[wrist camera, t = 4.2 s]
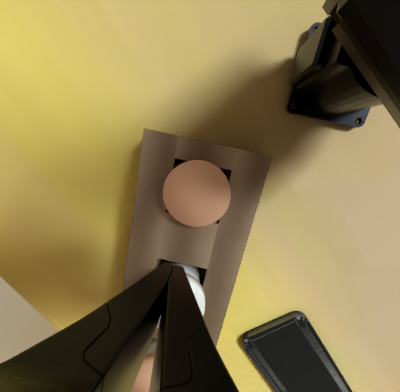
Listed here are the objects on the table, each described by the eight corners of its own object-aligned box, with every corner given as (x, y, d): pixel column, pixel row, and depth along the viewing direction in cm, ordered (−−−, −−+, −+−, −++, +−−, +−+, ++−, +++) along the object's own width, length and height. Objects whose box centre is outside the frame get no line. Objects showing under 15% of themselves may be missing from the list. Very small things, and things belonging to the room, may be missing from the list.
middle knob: (211, 259, 19) (211, 285, 15) (200, 303, 20) (197, 338, 16) (158, 247, 19) (145, 271, 15) (150, 292, 20) (136, 324, 16)
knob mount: (262, 154, 18) (272, 156, 15) (202, 366, 24) (201, 396, 21) (155, 131, 18) (144, 128, 15) (123, 348, 24) (111, 375, 21)
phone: (303, 313, 21) (360, 405, 23) (299, 305, 22) (354, 394, 24) (238, 341, 22) (298, 425, 25) (237, 332, 23) (295, 414, 26)
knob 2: (233, 164, 18) (238, 168, 14) (219, 216, 19) (221, 233, 16) (177, 152, 18) (168, 153, 14) (168, 205, 19) (157, 219, 16)
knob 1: (192, 332, 21) (188, 371, 17) (183, 368, 22) (178, 412, 19) (145, 322, 21) (131, 359, 17) (138, 358, 22) (124, 400, 19)
